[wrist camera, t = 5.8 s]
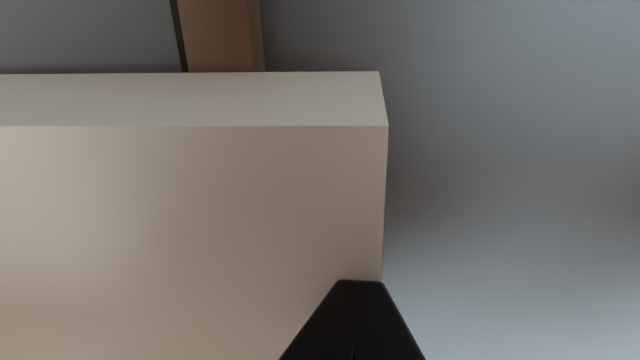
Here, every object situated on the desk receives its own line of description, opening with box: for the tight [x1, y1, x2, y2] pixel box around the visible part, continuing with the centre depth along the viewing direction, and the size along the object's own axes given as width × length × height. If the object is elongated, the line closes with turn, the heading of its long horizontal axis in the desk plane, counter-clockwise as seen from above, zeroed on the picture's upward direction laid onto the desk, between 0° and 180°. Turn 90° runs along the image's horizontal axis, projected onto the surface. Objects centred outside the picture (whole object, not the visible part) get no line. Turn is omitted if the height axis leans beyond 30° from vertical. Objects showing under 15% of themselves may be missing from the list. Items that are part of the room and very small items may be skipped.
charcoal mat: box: [0, 0, 189, 74], centre depth 11 cm, size 10×13×1 cm
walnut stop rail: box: [177, 0, 266, 73], centre depth 10 cm, size 1×14×1 cm, turn 2°
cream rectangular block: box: [0, 71, 389, 360], centre depth 9 cm, size 3×6×8 cm
